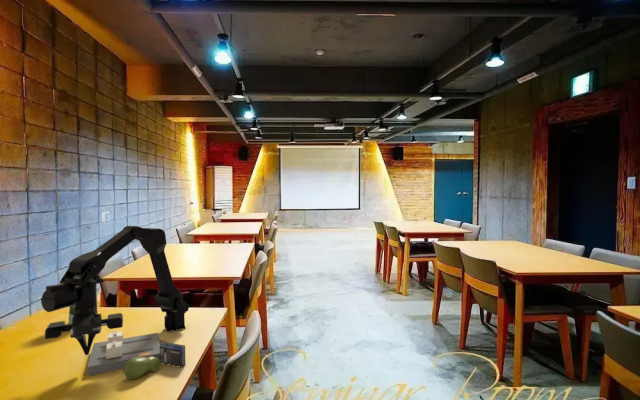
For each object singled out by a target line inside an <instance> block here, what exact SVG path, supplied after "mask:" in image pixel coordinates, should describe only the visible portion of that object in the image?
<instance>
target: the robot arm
mask: <svg viewBox="0 0 640 400" xmlns="http://www.w3.org/2000/svg"><path fill="white" fill-rule="evenodd" d="M135 240H137V241H139V244H141V246H142V249H143V250H144V251H146V253H148V255H149V258H150V261H151V265H152V268H153V271H154V275H155V279H156V281H157V285H158V288H159V289H158V292H157V294H156V295H154V298H155V300H156V306H158V307H159V308H160V310H161V312H162V313H165V315H164V319H163V320H164V330H166V332H168V333H169V332H173V331H180V330H186V325H185V314H186V313H187V312H188V311H189V308H190V305H189V303H187V302H186V301H185V300H184V298H183V296H182V293H181V291H180V289H178V288H177V287H176V286H175V284H174V281H173V277H172V274H171V270H170V266H169V263H168V260H167V257H166V252H165V248H166V247H167V246H166V245H167V236H166V232H165V231H164V229H162V228H156V227H155V228H153V227H151V228H150V227H140V226H138V225H127V226H124V227H123V228H122V230H120V231H119V232H118V233H116V234H115V235H114V236H112V237H110V239H108V240H107V241H105V242H104V243H103V244H101V245H100V246H99V247H97V248H96V249H94V250H92V251H89V252H86V253H82V254H81V255H79V256H77V257H74V258H73V259H72V260H71V261H70V262H69V264H68V268H67V270H66V272H65V273H64V274H63V276H62V278H61V280H59V283H58V284H50V285H46V286H45V291H44V292H43V293H42V295H41V298H40V301H41V303H40V304H41V306H42V308H43V310H44V311H45V312H46V313H52V312H55V311H59V310H62V309H65V308H70V306H72V305H73V304H74V316H73V319H72V324H70V323H66V320H62V321H56V322H50V323H49V324H48V325H47V327H46V328H45V330H44V339H45V340H50V339H56V338H60V337H61V335H62V334H63V333H64V332H65V333H66V332H70V335H69V337H70V338H71V339H76V341H78V343H79V346H80V347H81V349H82V351H83V353H84V356H89V354H90V353H91V349H92V345H93V341H94V339H95V337H96V335H98V334H101V332H102V327H104V326H107V328H108V329H110V330H113V329H120V328H123V325H124V315H123V313H121V312H120V313H119V312H117V313H112V314H107V317H106V318H102V313H98V314H97V312H98V293H97V292H98V291H97V290H98V287H97V284H98V285H99V284H102V283H104V279H103V278H100V276H99V274H100V273H101V272H102V271H103V270H104V268H105V267H106V264H107V262H108V261H109V260H110V259H111V258H113V257H114V256H115V255H117V254H118V253H119V252H121V251H122V250H123V249H124V248H125V247H127V246H129V244H130V243H133V241H135ZM74 277H78V278H80V279H75V278H74Z"/></svg>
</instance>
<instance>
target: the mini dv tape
mask: <svg viewBox="0 0 640 400" xmlns="http://www.w3.org/2000/svg"><path fill="white" fill-rule="evenodd" d="M159 344H160V361H161V363H164V364H163V365H166V364H170V365H169V366H171V365H175V366H174V367H176V366H180V367H179V368H181V367H182V368H183V366H184V367H185V366H186V365H187V364H186V363H187V362H186V345H183V344H178V343H173V342H167V341H162V342H159Z"/></svg>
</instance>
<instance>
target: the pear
mask: <svg viewBox="0 0 640 400" xmlns="http://www.w3.org/2000/svg"><path fill="white" fill-rule="evenodd" d="M160 366H161V361H160V359H159V358H156V357H153V356H150V357H137V358H133V359H130V360H129V361H128V362H127V363H126V364H125V366H124V369H123V375H124V376H125V377H126V378H127V379H129V380H136V379H139V378H141V376H143V375H144V374H146V373H147V372H157V371H159V369H160Z"/></svg>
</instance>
